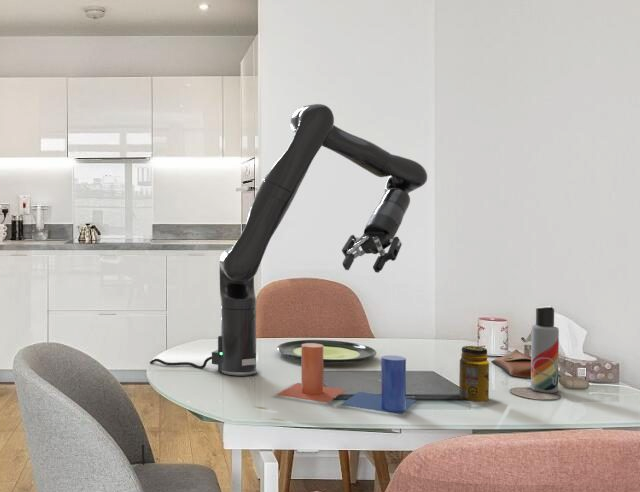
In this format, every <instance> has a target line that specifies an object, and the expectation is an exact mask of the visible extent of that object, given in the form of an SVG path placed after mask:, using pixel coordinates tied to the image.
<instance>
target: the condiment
mask: <svg viewBox="0 0 640 492" xmlns="http://www.w3.org/2000/svg"><path fill="white" fill-rule="evenodd" d="M460 354H461V355H460V356H461V357H460V358H459V387H458V389H459V390H458V395H459V394H460V395H461V396H460V395H459V398H460V399H461V400H465V401H468V402H473V403H474V402H476V403H482V402H483V403H484V402H487V401H488V400H489V398H490V393H489V392H490V383H489V382H490V361H489V360H488V349H487V348H485V347H483V346H476V345H466V346H465V345H464V346H462V348H461V353H460Z"/></svg>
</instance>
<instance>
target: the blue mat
mask: <svg viewBox="0 0 640 492" xmlns="http://www.w3.org/2000/svg"><path fill="white" fill-rule="evenodd" d="M415 402H417V399H412V398H406V410H405V411H404V412H389V411H385V410H383V409H382V408H381V394H378V393H371V392H364V391H358V392H356V393H354V394H353V395H352V396H351V397H349V398H348V399H347V400H345V401H343V403H341V404H340V405H341V406H346V407H351V408H358V409H365V410H371V411H377V412H383V413H391V414H397V415H403V414H405V412H406V411H407V410H408V409H409V408H410V407H411V406H412V405H414V403H415Z"/></svg>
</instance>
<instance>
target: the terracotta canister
mask: <svg viewBox="0 0 640 492" xmlns="http://www.w3.org/2000/svg"><path fill="white" fill-rule="evenodd" d="M300 360H301V363H300V365H301V369H300V370H301V371H300V372H301V374H300V375H301V376H300V377H301V380H300V381H301V382H300V383H301V392H302V393H305V394H309V395H320V394H323V387H324V362H323V345H321V344H316V343H305V344H302V351H301V359H300Z"/></svg>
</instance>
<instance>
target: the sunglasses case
mask: <svg viewBox="0 0 640 492" xmlns="http://www.w3.org/2000/svg"><path fill="white" fill-rule="evenodd" d="M490 362H491V363H493V364H495V366H497V367H499V368H500V369H502V370H503V371H504V372H505V373H507V374H508V375H511V376H512V377H517V378H523V379H531V356H529V355H527V354H525V353H522V352H521V351H519V350H518V349H514V350H513V351H512V352H510V353H508V354H505V355H503V356H499V357H497V358H494V359H492V360H491V361H490Z"/></svg>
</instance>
